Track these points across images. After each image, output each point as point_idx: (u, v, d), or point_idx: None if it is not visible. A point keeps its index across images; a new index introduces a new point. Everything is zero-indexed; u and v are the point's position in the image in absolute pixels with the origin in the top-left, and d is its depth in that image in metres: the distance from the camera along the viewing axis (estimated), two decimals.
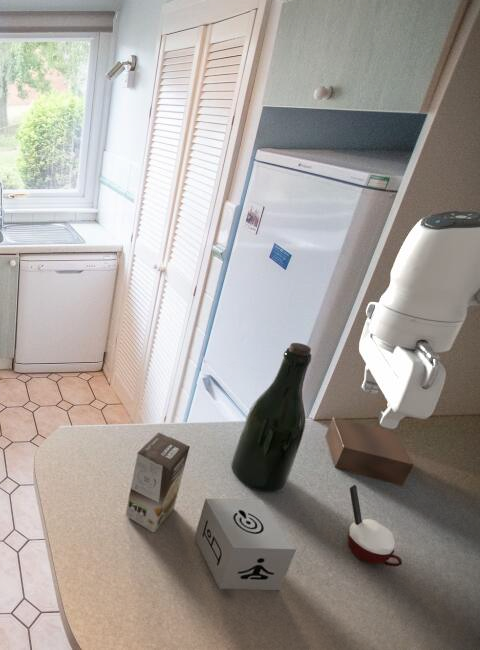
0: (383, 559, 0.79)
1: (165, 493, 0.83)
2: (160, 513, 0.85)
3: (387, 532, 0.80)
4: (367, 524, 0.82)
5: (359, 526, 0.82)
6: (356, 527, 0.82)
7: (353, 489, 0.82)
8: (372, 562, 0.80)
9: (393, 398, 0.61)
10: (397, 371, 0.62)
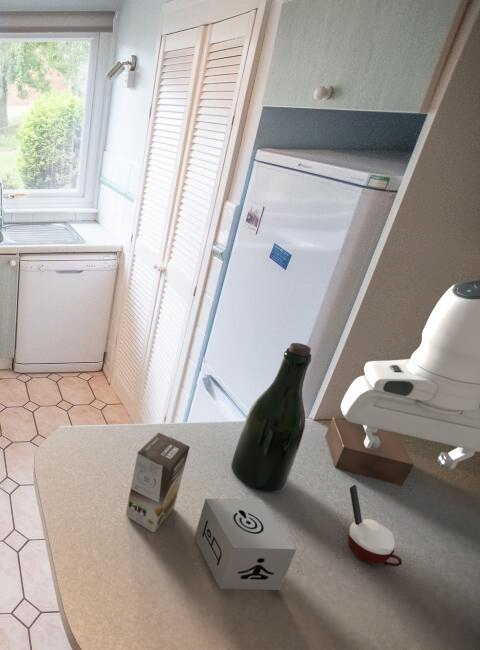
0: (383, 559, 0.79)
1: (165, 493, 0.83)
2: (160, 513, 0.85)
3: (387, 532, 0.80)
4: (366, 524, 0.82)
5: (359, 526, 0.82)
6: (356, 527, 0.82)
7: (353, 489, 0.82)
8: (372, 562, 0.80)
9: None
10: None
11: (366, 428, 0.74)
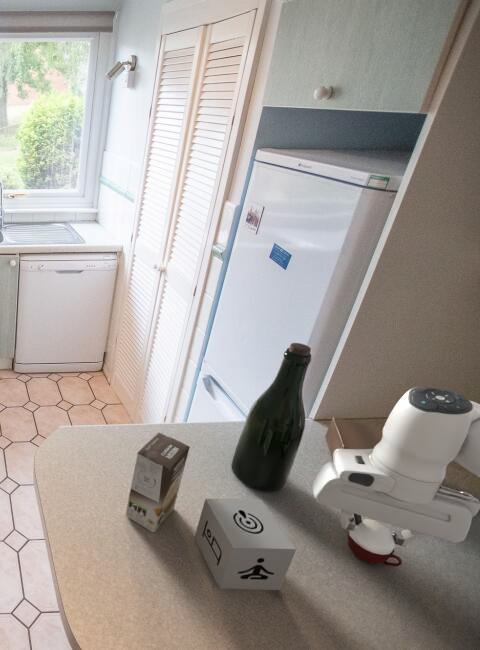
0: (383, 559, 0.79)
1: (165, 493, 0.83)
2: (160, 513, 0.85)
3: (387, 532, 0.80)
4: (366, 524, 0.82)
5: (359, 526, 0.82)
6: (356, 527, 0.82)
7: None
8: (372, 562, 0.80)
9: (449, 535, 0.74)
10: (434, 515, 0.74)
11: (342, 511, 0.81)
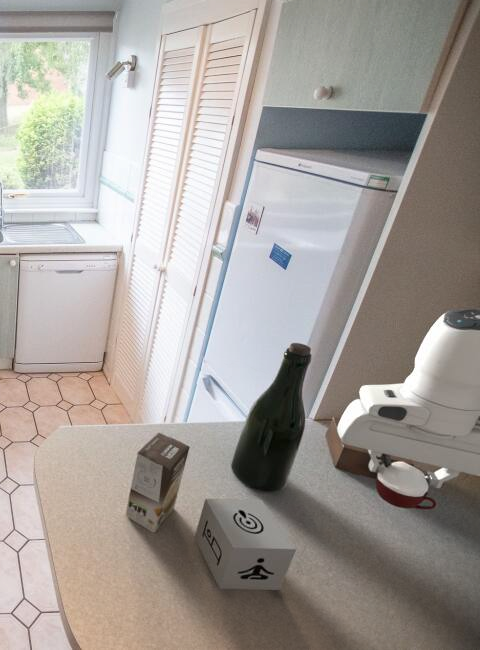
0: (416, 502, 0.73)
1: (165, 493, 0.83)
2: (160, 513, 0.85)
3: (419, 473, 0.74)
4: (396, 466, 0.76)
5: (388, 469, 0.76)
6: (385, 470, 0.76)
7: None
8: (403, 506, 0.74)
9: None
10: (472, 450, 0.69)
11: (370, 452, 0.76)
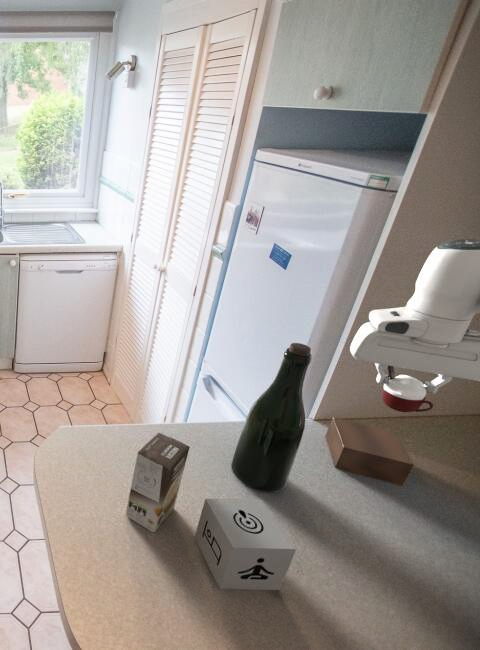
0: (416, 405, 0.88)
1: (165, 493, 0.83)
2: (160, 513, 0.85)
3: (419, 382, 0.89)
4: (400, 378, 0.91)
5: (393, 380, 0.91)
6: (390, 381, 0.91)
7: None
8: (406, 409, 0.89)
9: (477, 373, 0.83)
10: (463, 356, 0.83)
11: (378, 366, 0.90)
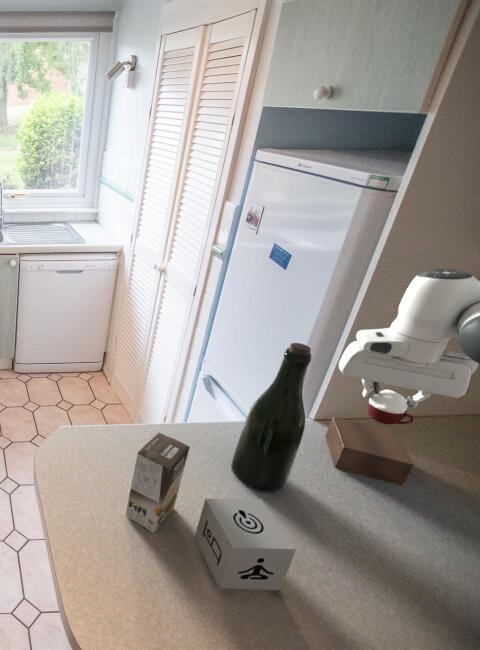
0: (398, 418, 0.96)
1: (165, 493, 0.83)
2: (160, 513, 0.85)
3: (401, 397, 0.97)
4: (384, 393, 0.99)
5: (377, 394, 0.99)
6: (375, 395, 0.99)
7: None
8: (388, 422, 0.97)
9: (453, 390, 0.91)
10: (440, 375, 0.91)
11: (364, 381, 0.98)
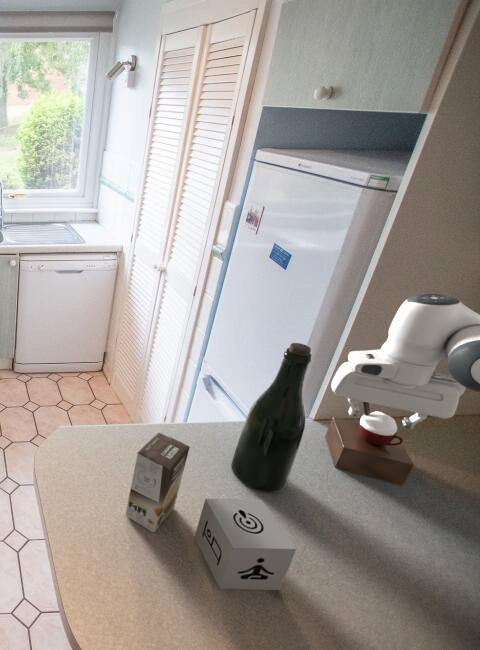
0: (387, 439, 0.98)
1: (165, 493, 0.83)
2: (160, 513, 0.85)
3: (391, 419, 0.99)
4: (374, 415, 1.01)
5: (368, 416, 1.01)
6: (365, 417, 1.01)
7: None
8: (379, 443, 1.00)
9: (442, 412, 0.93)
10: (430, 396, 0.93)
11: (349, 400, 1.01)
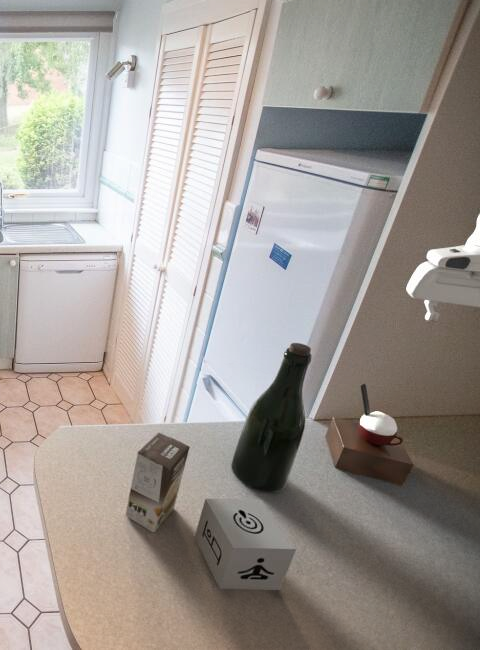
0: (387, 439, 0.98)
1: (165, 493, 0.83)
2: (160, 513, 0.85)
3: (391, 419, 0.99)
4: (374, 415, 1.01)
5: (368, 416, 1.01)
6: (365, 417, 1.01)
7: (363, 386, 1.01)
8: (379, 443, 1.00)
9: None
10: None
11: (428, 303, 0.93)
